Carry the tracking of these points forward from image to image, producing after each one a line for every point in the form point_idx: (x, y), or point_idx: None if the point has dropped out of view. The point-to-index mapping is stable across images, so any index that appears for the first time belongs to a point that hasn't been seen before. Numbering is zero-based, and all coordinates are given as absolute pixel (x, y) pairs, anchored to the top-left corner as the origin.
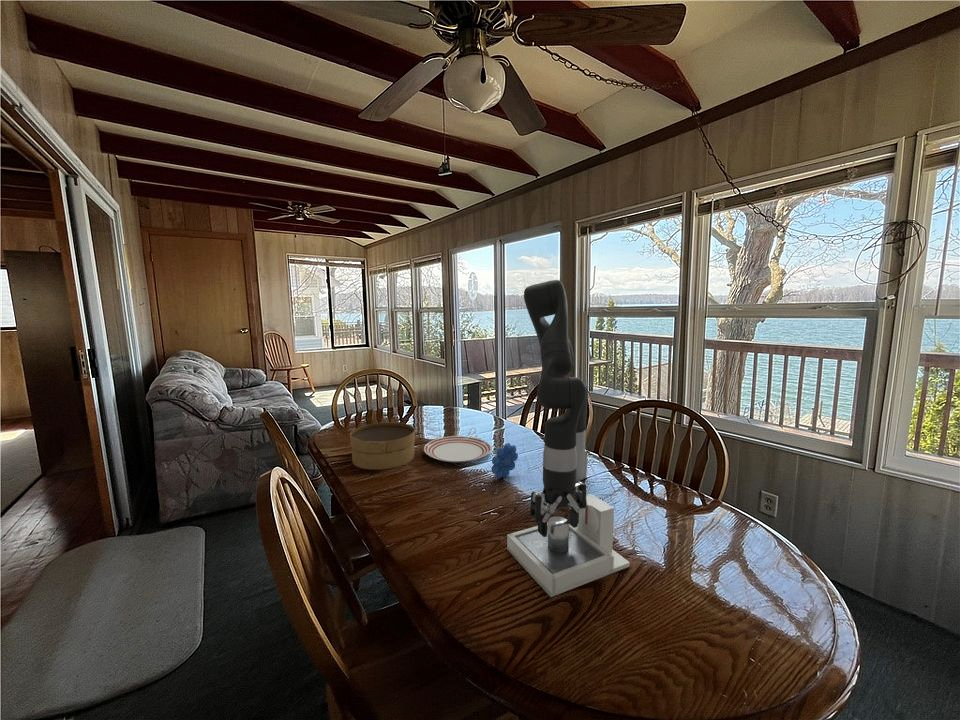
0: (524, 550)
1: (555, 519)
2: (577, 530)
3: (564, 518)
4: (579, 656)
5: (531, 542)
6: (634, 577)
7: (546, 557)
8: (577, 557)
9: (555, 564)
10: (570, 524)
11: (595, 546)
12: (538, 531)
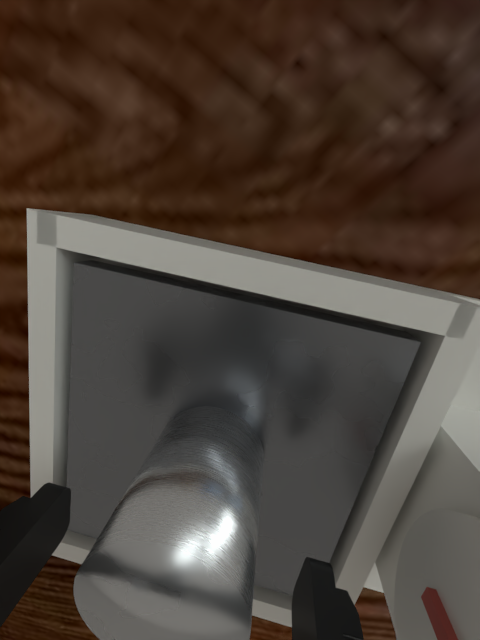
0: (36, 381)
1: (164, 584)
2: (411, 456)
3: (243, 625)
4: (29, 602)
5: (117, 349)
6: (358, 604)
7: (104, 466)
8: None
9: (107, 511)
10: (304, 566)
11: (342, 572)
12: (11, 508)
